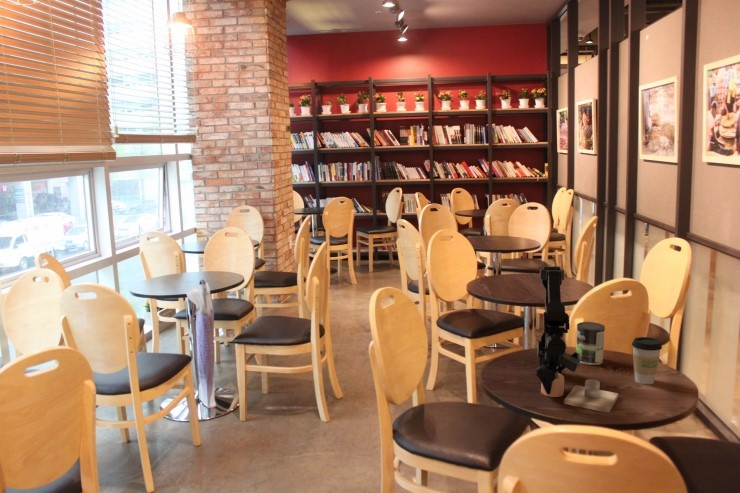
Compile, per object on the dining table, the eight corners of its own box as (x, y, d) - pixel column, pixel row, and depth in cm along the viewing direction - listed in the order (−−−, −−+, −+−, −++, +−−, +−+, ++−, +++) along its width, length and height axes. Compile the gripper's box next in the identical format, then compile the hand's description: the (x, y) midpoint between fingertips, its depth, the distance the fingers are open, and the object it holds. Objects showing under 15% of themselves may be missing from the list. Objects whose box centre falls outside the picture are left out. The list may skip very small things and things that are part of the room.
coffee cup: (657, 388, 222) (660, 346, 219) (627, 383, 227) (629, 342, 224) (661, 379, 230) (664, 339, 227) (632, 374, 235) (634, 334, 233)
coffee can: (582, 365, 244) (584, 330, 242) (571, 356, 254) (572, 322, 252) (608, 364, 245) (610, 328, 243) (595, 355, 256) (597, 321, 253)
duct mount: (564, 403, 210) (565, 384, 209) (575, 389, 222) (576, 371, 221) (608, 412, 203) (609, 393, 202) (618, 397, 214) (619, 379, 213)
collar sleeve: (538, 394, 218) (539, 377, 217) (545, 387, 224) (545, 370, 223) (559, 398, 214) (560, 381, 213) (565, 391, 220) (566, 374, 219)
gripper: (570, 357, 204) (568, 404, 207) (585, 341, 220) (583, 385, 222) (536, 351, 210) (534, 397, 213) (553, 336, 226) (551, 378, 228)
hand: (552, 389), depth 219 cm, fingers open, 9 cm apart
